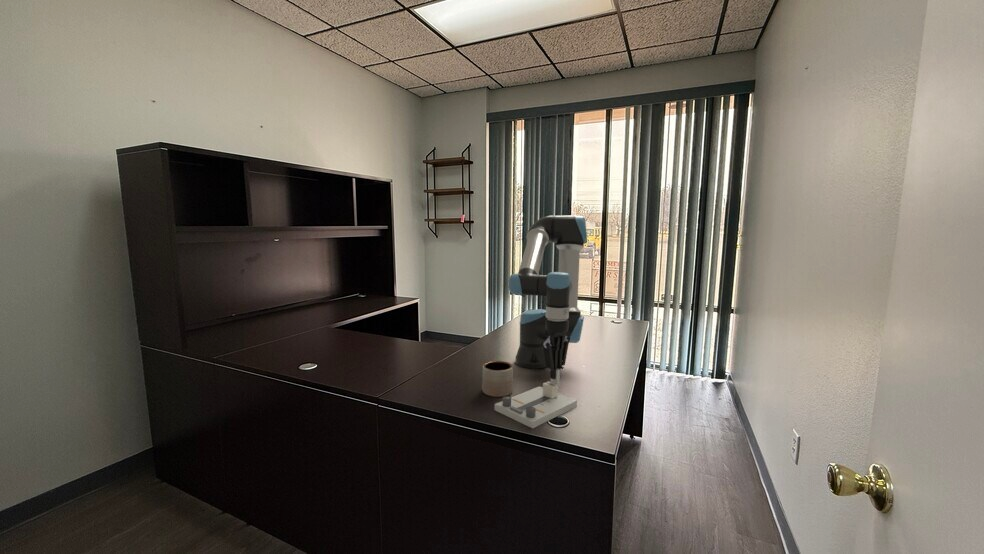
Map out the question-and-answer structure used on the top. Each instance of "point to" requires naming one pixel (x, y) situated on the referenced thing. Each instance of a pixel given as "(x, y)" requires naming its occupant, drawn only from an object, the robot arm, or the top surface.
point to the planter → (497, 378)
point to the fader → (550, 390)
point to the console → (534, 407)
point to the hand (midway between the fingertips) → (554, 387)
